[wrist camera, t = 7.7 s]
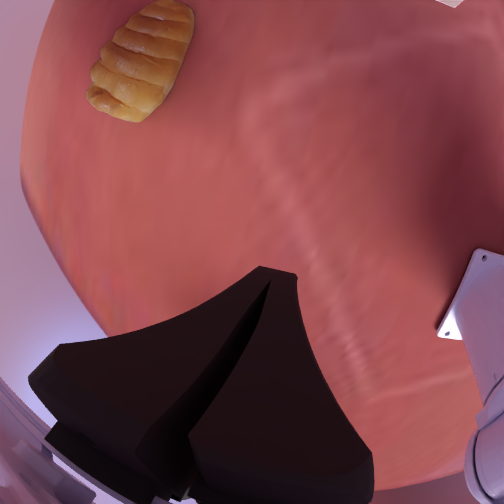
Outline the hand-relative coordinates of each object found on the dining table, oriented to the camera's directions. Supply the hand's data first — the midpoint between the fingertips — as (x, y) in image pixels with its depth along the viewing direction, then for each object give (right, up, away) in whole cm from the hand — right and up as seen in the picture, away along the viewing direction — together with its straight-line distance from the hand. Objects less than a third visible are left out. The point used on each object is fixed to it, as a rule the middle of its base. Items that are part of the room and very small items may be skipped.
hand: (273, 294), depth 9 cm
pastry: (-8, +15, +6) cm, 18 cm away
